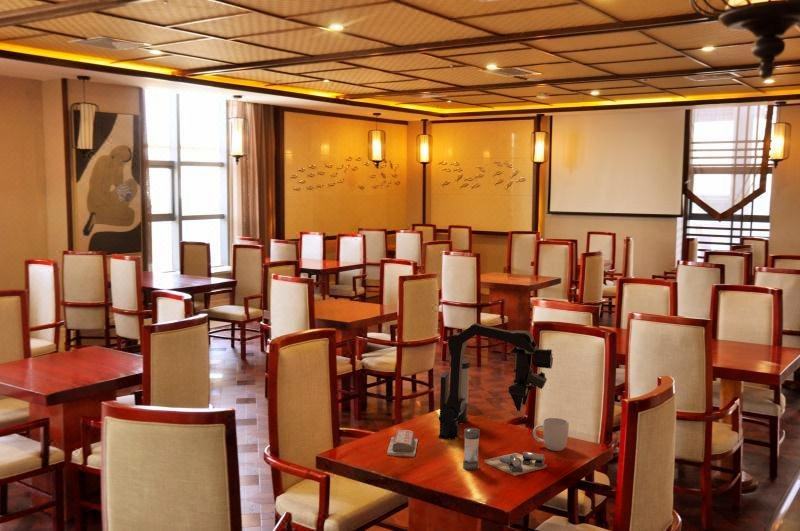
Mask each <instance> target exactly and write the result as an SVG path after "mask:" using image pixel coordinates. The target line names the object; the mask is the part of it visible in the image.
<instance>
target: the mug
mask: <svg viewBox="0 0 800 531" xmlns="http://www.w3.org/2000/svg"><path fill="white" fill-rule="evenodd" d="M569 426H570V425H569V421H568V420H566V419H563V418H560V417H559V418H558V417H548V418H545V419H544V420H543V424H542V423H541V424H540V423H539V424H537V425H536V426H535V427H534V428H533V429H532V430H533V431H532V435H533V438H534V440H536V441H537V442H539V443H543V444H544V446H545V448H546V449H548V450H551V451H557V452H558V451H559V452H560V451H563V450H564V449H565V448H566V445H567V443H568V438H569V430H570V429H569ZM540 428H542V431H543V432H542V433H543V438H540V437H538V435H537V430H538V429H540Z"/></svg>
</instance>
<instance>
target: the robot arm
mask: <svg viewBox="0 0 800 531" xmlns="http://www.w3.org/2000/svg"><path fill="white" fill-rule="evenodd" d="M474 336H479V337H484V338H487V339H488V338H489V339H492V340H493V339H494V340H497V341H498V340H499V341H503V342H505V343H509V344H510V345H512V346H514V347H513V348H512V349H511V350H510V353H511V354H515V366H514V368H513V372H514V379H513V382H512V384H511V385H510V386H509V387H508V394H509V395H510V397H511V399H512V401H513V404H514V405H515V406H514V407H515V409H516V411H517V412H521V410H522V406H523V405H524V406H525V405H526V404H527V401H528V397H529V394H530V391H531V390H532V389H533V388H534V387H537V388H538V389H539V390H543V388H544V387H545V385H546V382H547V381H548V378H547V377H546V373H544V372H542V371H541V372H539V373H536V372H534V369H533V368H532V365H533V366H534V367H535V368H541V369H542V368H543V369H553V363H554V357H553V350H552V349H549V348H547V349H543V348H539V346H538V345H537V344H536V343H537V342H535V340H534V335H533V333H532V332H531V331H529V330H522V329H521V330H520V329H519V330H518V329H517V330H516V329H515V330H509V329H508V330H507V329H504V328H503V329H502V328H498V327H496V326H495V327H493V326H489V325H485V324H482V323H481V324H480V323H478V322H475V323H473V324H471V325H470V326H469V327H468V328H467V329H465V330H463V331H462V332H456V333H454V334H453V335H451V336H450V337H449V338H448V339H447V344H448V353H449V355H450V360H451V371H450V370H449V397H448V400H447V402H446V407H445V412H444V413H443V414H442V415H441V416H440V415H439V417H438V421H439V434H438V436H437V437H438V438H441V439H448V440H456V439H457V438H458V436H459V435H460V424H458V420H456V419H457V418H458V417H459V416H460V415H461V414H462V413H463V411H464V409H465V401H466V398H462V396H461V380H462V360H464V359H463V358H464V355H465V352H466V349H467V343H468V340H469V341H470V339H472V338H473V337H474Z"/></svg>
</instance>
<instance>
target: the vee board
mask: <svg viewBox="0 0 800 531" xmlns="http://www.w3.org/2000/svg"><path fill="white" fill-rule="evenodd" d="M512 454H515V455H516V456H517V458H518V459H519V461H520V463H521V466H522V468H523V472H511V470H510V468H509V466H508V461H511V460H510V456H511V455H512ZM523 460H524V459H523V454H520V453H519V452H518V453H517V452H512V453H509V454H505V455H501V456H497V457H492V458H488V459H484V460H483V463H484V464H487V465H489V466H492V467H493V468H496V469H498V470H500V471H502V472H505V473H508V474H509V475H512V476H514V477H515V476H519V475H523V474H527V473H530V472H535V471H538V470H539V471H540V470H542V469H543V470H544V469H546V468H548V465H547V464H545V463H544V465H543V466H542V467H536V466H535V461H534V460H532V463H531V465H524V464H523Z"/></svg>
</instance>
